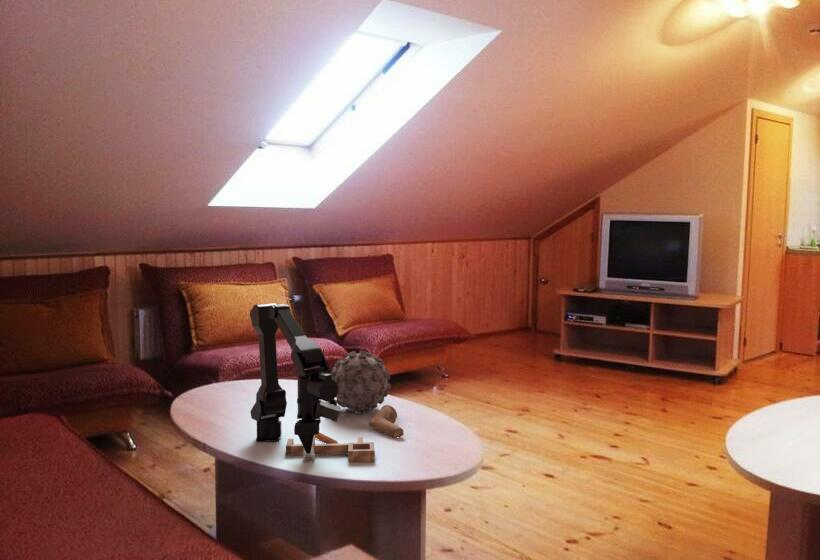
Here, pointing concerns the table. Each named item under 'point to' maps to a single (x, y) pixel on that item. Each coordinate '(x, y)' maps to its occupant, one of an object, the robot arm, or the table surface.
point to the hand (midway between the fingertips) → (308, 450)
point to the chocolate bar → (325, 439)
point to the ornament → (360, 381)
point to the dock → (339, 450)
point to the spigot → (311, 455)
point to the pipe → (386, 422)
